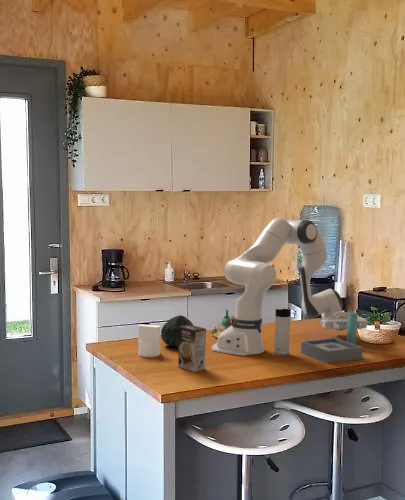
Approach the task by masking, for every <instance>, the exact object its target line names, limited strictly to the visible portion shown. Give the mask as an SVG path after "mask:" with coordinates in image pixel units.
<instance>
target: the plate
mask: <svg viewBox="0 0 405 500" xmlns="http://www.w3.org/2000/svg"><path fill="white" fill-rule="evenodd" d="M313 345H315V346H317V347H320V348H323V349H325V350H328V351H330V350H338V349H346V348H349V347H346V346H343V345H341V344H338V343H335V342H330V343H321V344H313Z"/></svg>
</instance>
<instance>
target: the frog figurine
mask: <svg viewBox="0 0 405 500" xmlns="http://www.w3.org/2000/svg"><path fill="white" fill-rule="evenodd" d="M233 317H234V316H233V315H231V316H229V310H228V309H226V310H225V316H224V317H223V319H222V320H221V322H218V324H217V326H219V327H217V328H216V326H215V327H214V328H213V329H212V331H211V332H210V337H214V338H217V339H218V337H219V335H220V334H221V333H222V332H223V331H222V329H221V328H222V327H223V328H224V330H226V329H227V328H229V327H230V326H231V323H230V322H231V319H232V318H233ZM219 324H220V325H219ZM221 325H222V326H221ZM219 328H220V329H219ZM218 329H219V330H220V331H218Z"/></svg>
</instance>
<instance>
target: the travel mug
mask: <svg viewBox="0 0 405 500" xmlns="http://www.w3.org/2000/svg"><path fill="white" fill-rule="evenodd" d="M290 329H291V308H281V309H280V308H276V309H275V316H274V338H273V339H274V340H273V341H274V342H273V345H274V346H273V354H274V356H277V357H288V356H290V355H289V354H290V336H291V335H290V333H291V332H290V331H291V330H290Z"/></svg>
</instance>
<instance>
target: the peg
mask: <svg viewBox="0 0 405 500" xmlns="http://www.w3.org/2000/svg"><path fill="white" fill-rule="evenodd" d="M347 313H348V322H347V329H346V342H349V343H352V344H355V345H357V331H358V329H357V314H358V313H357V312H352V311H350V312H347Z"/></svg>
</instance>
